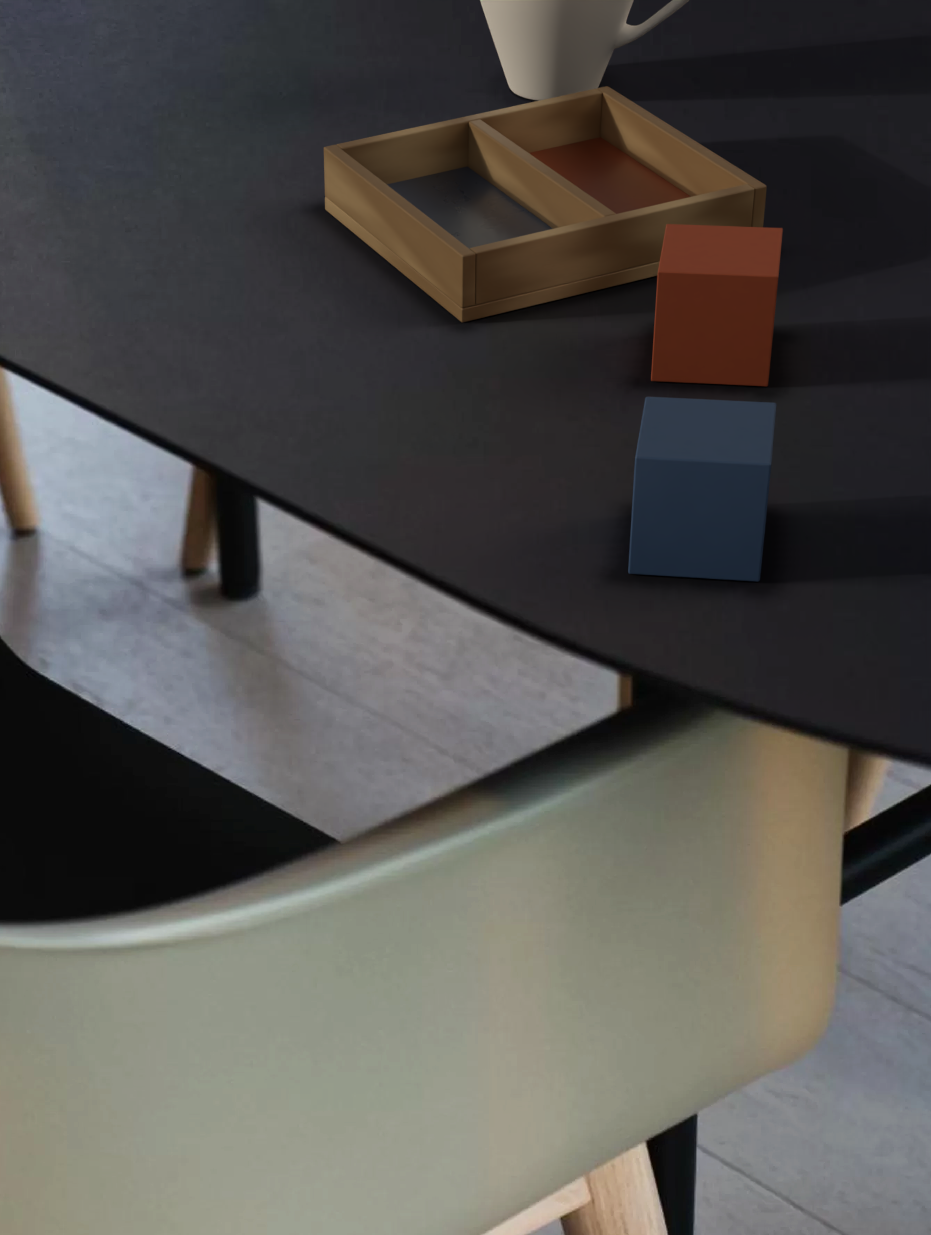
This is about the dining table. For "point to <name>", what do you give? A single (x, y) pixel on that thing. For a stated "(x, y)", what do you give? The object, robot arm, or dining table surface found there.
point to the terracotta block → (716, 304)
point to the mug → (561, 41)
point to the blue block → (701, 488)
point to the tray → (532, 199)
